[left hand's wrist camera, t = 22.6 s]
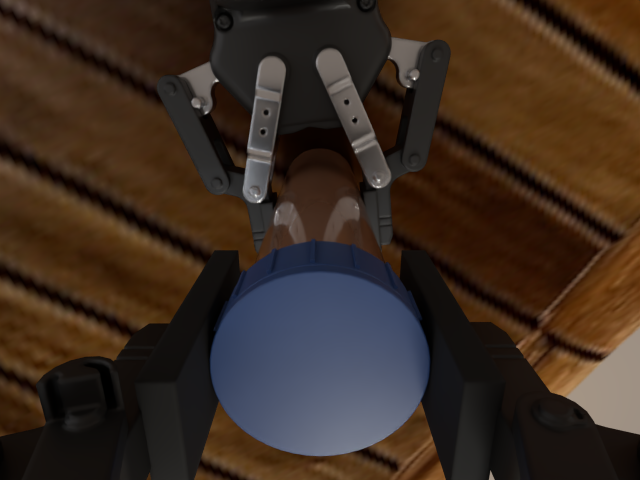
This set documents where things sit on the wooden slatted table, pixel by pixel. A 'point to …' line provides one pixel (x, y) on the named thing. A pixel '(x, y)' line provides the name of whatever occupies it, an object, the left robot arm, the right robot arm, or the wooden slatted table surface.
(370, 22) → the right robot arm
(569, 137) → the wooden slatted table surface
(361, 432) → the lid
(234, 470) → the wooden slatted table surface
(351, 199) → the brown tube
